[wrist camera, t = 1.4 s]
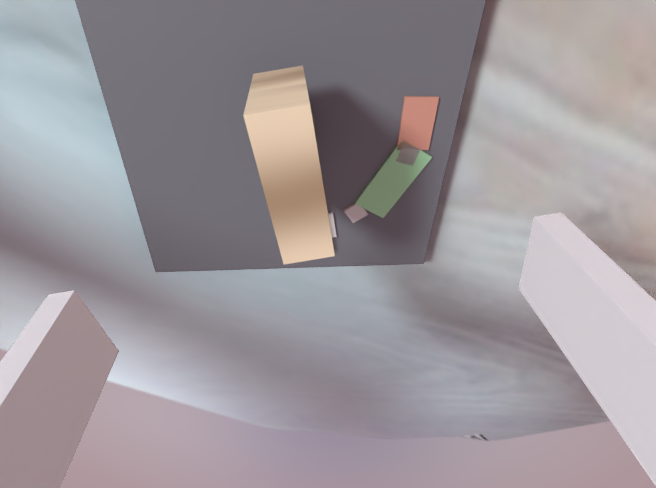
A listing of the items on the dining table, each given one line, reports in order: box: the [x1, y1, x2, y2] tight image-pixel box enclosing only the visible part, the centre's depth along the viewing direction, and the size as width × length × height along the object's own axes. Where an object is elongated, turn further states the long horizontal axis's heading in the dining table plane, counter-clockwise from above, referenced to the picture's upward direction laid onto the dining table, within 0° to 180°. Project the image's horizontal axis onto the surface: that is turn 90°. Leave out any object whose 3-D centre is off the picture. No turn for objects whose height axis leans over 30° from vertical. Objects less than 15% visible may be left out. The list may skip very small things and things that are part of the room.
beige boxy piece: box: [243, 65, 335, 265], centre depth 21 cm, size 12×3×8 cm, turn 8°
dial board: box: [75, 0, 486, 272], centre depth 23 cm, size 20×22×2 cm
